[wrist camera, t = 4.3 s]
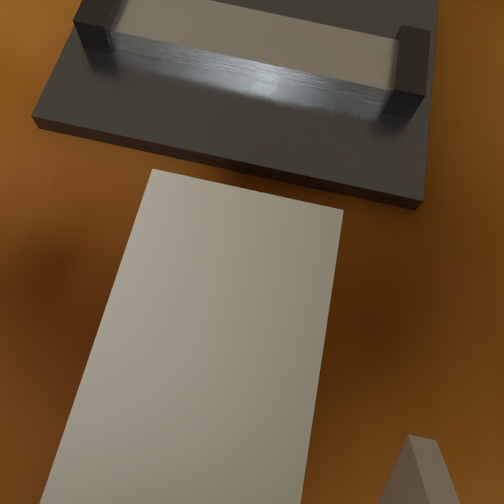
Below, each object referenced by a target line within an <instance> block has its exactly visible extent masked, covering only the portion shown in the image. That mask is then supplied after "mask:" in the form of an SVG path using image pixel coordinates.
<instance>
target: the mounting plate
mask: <svg viewBox="0 0 504 504" xmlns="http://www.w3.org/2000/svg"><path fill="white" fill-rule="evenodd" d="M437 14H438V0H82V2H81V4H80V7H79V9H78V11H77V13H76V15H75V17H74V19H73V22H74V27H73V29H72V32H71V34H70V36H69V38H68V40H67V42H66V44H65V46H64V48H63V50H62V52H61V55H60V57H59V59H58V61H57V63H56V65H55V67H54V69H53V71H52V73H51V76H50V78H49V80H48V82H47V84H46V86H45V88H44V90H43V92H42V94H41V97H40V99H39V101H38V103H37V105H36V107H35V109H34V111H33V113H32V115H31V116H32V118H33V120H34V121H35V123H36V124H37V126H38V128H40V129H45V130H49V131H54V132H58V133H63V134H68V135H72V136H77V137H82V138H86V139H91V140H95V141H100V142H105V143H109V144H114V145H118V146H123V147H128V148H132V149H137V150H141V151H146V152H151V153H155V154H160V155H165V156H169V157H174V158H178V159H183V160H188V161H192V162H197V163H201V164H206V165H211V166H215V167H220V168H224V169H229V170H234V171H238V172H243V173H248V174H252V175H257V176H261V177H266V178H271V179H275V180H280V181H284V182H289V183H294V184H298V185H303V186H307V187H312V188H317V189H321V190H326V191H331V192H335V193H340V194H344V195H349V196H354V197H358V198H363V199H367V200H372V201H377V202H381V203H386V204H390V205H395V206H400V207H404V208H409V209H414V210H416V209H417V207H418V206H419V205H420V204H421V203H422V202H423V201H424V188H425V175H426V161H427V148H428V135H429V121H430V108H431V94H432V81H433V68H434V54H435V41H436V27H437Z"/></svg>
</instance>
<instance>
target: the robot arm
mask: <svg viewBox="0 0 504 504" xmlns="http://www.w3.org/2000/svg"><path fill="white" fill-rule="evenodd" d="M378 504H460V502H459V499H458V496H457V494H456V491H455V488H454V486H453V483H452V480H451V478H450V475H449V472H448V470H447V467H446V464H445V462H444V459H443V456H442V454H441V451H440V448H439V446H438V443H437V440H433V439H428V438H424V437H419V436H414V435H410V434H408V436H407V438H406V441H405V443H404V445H403V447H402V450H401V452H400V454H399V456H398V458H397V461H396V463H395V465H394V467H393V470H392V472H391V474H390V476H389V478H388V481H387V483H386V485H385V487H384V490H383V492H382V494H381V496H380V499H379V501H378Z"/></svg>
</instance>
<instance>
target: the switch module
mask: <svg viewBox="0 0 504 504" xmlns="http://www.w3.org/2000/svg"><path fill="white" fill-rule="evenodd" d="M343 211H344V210H340V209H336V208H331V207H327V206H322V205H317V204H313V203H308V202H304V201H299V200H294V199H290V198H285V197H281V196H276V195H271V194H267V193H262V192H258V191H253V190H248V189H244V188H239V187H235V186H230V185H225V184H221V183H216V182H212V181H207V180H202V179H198V178H193V177H189V176H184V175H179V174H175V173H170V172H166V171H161V170H156V169H152V172H151V175H150V178H149V181H148V184H147V187H146V190H145V192H144V195H143V198H142V201H141V204H140V207H139V210H138V213H137V216H136V219H135V222H134V225H133V228H132V231H131V234H130V237H129V240H128V243H127V246H126V249H125V252H124V255H123V258H122V261H121V264H120V267H119V270H118V273H117V276H116V279H115V282H114V285H113V288H112V290H111V293H110V296H109V299H108V302H107V305H106V308H105V311H104V314H103V317H102V320H101V323H100V326H99V329H98V332H97V335H96V338H95V341H94V344H93V347H92V350H91V353H90V356H89V359H88V362H87V365H86V368H85V371H84V374H83V377H82V380H81V383H80V386H79V388H78V391H77V394H76V397H75V400H74V403H73V406H72V409H71V412H70V415H69V418H68V421H67V424H66V427H65V430H64V433H63V436H62V439H61V442H60V445H59V448H58V451H57V454H56V457H55V460H54V463H53V466H52V469H51V472H50V475H49V478H48V481H47V484H46V487H45V489H44V492H43V495H42V498H41V501H40V504H300V503H301V496H302V489H303V482H304V476H305V469H306V462H307V455H308V449H309V442H310V435H311V428H312V421H313V415H314V408H315V401H316V394H317V388H318V381H319V374H320V367H321V360H322V354H323V347H324V340H325V333H326V327H327V320H328V313H329V306H330V300H331V293H332V286H333V279H334V272H335V266H336V259H337V252H338V245H339V239H340V232H341V225H342V218H343Z"/></svg>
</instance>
